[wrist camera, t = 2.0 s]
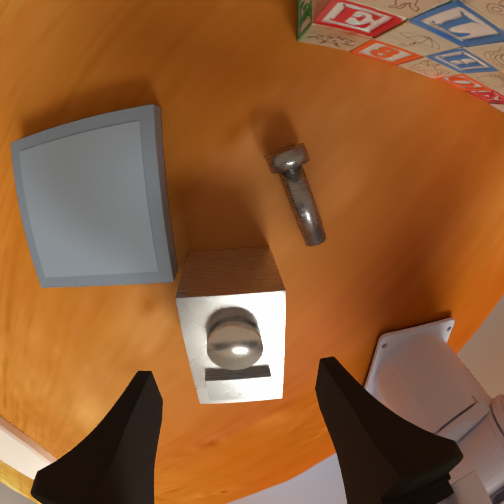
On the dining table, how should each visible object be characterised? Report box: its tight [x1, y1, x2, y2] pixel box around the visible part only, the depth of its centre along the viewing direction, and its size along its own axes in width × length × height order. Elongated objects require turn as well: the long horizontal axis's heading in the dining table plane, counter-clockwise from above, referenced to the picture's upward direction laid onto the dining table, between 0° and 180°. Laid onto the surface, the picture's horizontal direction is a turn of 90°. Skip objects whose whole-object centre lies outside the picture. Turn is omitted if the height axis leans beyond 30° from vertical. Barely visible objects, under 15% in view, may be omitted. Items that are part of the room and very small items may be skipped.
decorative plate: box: [0, 416, 57, 479], centre depth 24 cm, size 25×4×25 cm
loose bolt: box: [265, 143, 326, 246], centre depth 14 cm, size 5×2×2 cm, turn 22°
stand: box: [11, 104, 178, 288], centre depth 13 cm, size 9×9×2 cm
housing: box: [175, 246, 286, 404], centre depth 15 cm, size 7×4×6 cm, turn 2°
